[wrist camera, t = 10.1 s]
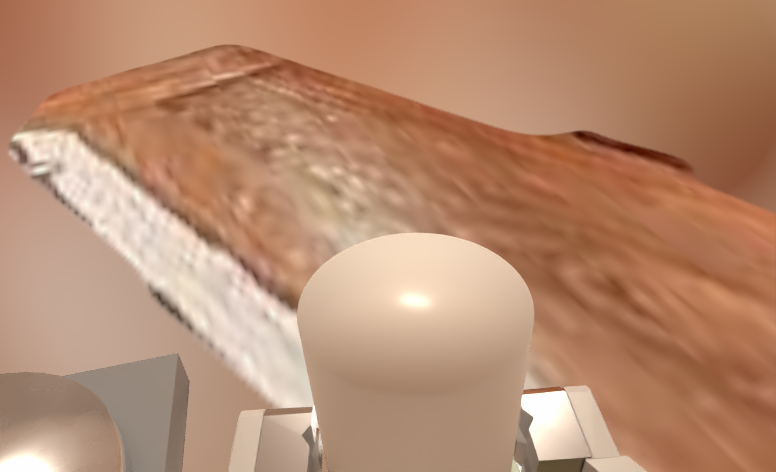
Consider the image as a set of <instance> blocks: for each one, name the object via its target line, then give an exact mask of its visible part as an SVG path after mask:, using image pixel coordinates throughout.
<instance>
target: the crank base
mask: <svg viewBox="0 0 776 472" xmlns="http://www.w3.org/2000/svg"><path fill="white" fill-rule="evenodd" d="M61 377H64V378H67V379H70V380H73V381H75V382H77V383H79V384H81V385H83V386H85V387H86V388H88V389H89V390H90V391H92V392H93V393H94V394H95V395H96V396H98V398H99V399H100V400H101V401H102V403H103V404H104V405H105V407H106V408H107V409H108V411H109V413H110V415H111V416H112V418H113V420H114V422H115V424H116V425H117V427H118V429H119V431H120V432H121V435H122V437H123V439H124V441H125V443H126V445H127V449H128V453H129V457H130V461H131V472H182V464H183V452H184V441H185V429H186V428H185V427H186V416H187V405H188V404H187V403H188V393H189V379H188V377H187V374H186V372H185V369H184V367H183V364H182V362H181V359H180V357H179V354H178V353H177V354H172V355H167V356H162V357H157V358H152V359H147V360H142V361H137V362H132V363H127V364H122V365H117V366H111V367H107V368H102V369H96V370H92V371H86V372H81V373H76V374H72V375H66V376H61Z"/></svg>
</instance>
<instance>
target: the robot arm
mask: <svg viewBox="0 0 776 472" xmlns="http://www.w3.org/2000/svg"><path fill="white" fill-rule="evenodd" d="M316 422H317V415H316V411H315V407H300V408H282V409H263V410H250V411H242V412H241V413H240V416H239V418H238V421H237V426H236V431H235V435H234V440H233V445H232V450H231V455H230V460H229V465H228V470H227V472H322V443H321V435H320V430H319V429H318V428H317V427H316ZM514 459H515V461H516V462H518V463H519V464H520V465H521V466H522V471H521V472H647V471H646V470H645V469H643V468H642V467H641V466H640V465H639V464H637V463H636V462H635V461H634V460H632V459H631V458H630V457H629V456H620V454H619V452H618V450H617V447H616V445H615V443H614V441H613V438H612V436H611V434H610V432H609V430H608V427H607V425H606V423H605V421H604V418H603V416H602V414H601V412H600V410H599V407H598V405H597V403H596V401H595V398H594V396H593V394H592V392H591V390H590V389H589V388H588V387H587V386H585V385H581V386H571V387H551V388H540V389H529V390H523V396H522V403H521V409H520V416H519V422H518V429H517V435H516V442H515V449H514Z"/></svg>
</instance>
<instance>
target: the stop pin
mask: <svg viewBox="0 0 776 472" xmlns="http://www.w3.org/2000/svg"><path fill="white" fill-rule="evenodd" d="M297 321H298V328H299V333H300V337H301V342H302V347H303V352H304V357H305V362H306V367H307V371H308V376H309V381H310V386H311V391H312V396H313V401H314V405H315V410H316V415H317V420H318V425H319V430H320V435H321V439H322V444H323V449H324V454H325V459H326V464H327V468H328V472H511V468H512V462H513V455H514V449H515V442H516V435H517V429H518V422H519V416H520V409H521V403H522V396H523V390H524V383H525V376H526V370H527V363H528V357H529V350H530V344H531V337H532V331H533V324H534V306H533V300H532V297H531V294H530V291H529V289H528V287H527V285H526V284H525V282H524V280H523V279H522V277H521V276H520V275H519V273H518V272H517V271H516V270H515V269H514V268H513V267H512V266H511V265H510V264H509V263H508V262H506V261H505V260H504V259H502V258H501V257H500V256H498V255H497V254H495V253H493V252H492V251H490V250H488V249H486V248H484V247H482V246H480V245H478V244H475V243H472V242H470V241H467V240H464V239H460V238H456V237H452V236H446V235H441V234H431V233H402V234H394V235H387V236H382V237H378V238H374V239H371V240H367V241H364V242H361V243H359V244H356V245H354V246H351V247H349V248H347V249H345V250H344V251H342V252H340V253H338V254H337V255H335V256H334V257H332V258H331V259H329V260H328V261H327V262H326V263H324V264H323V265H322V266H321V267H320V268H319V269H318V270H317V271H316V272H315V273H314V274H313V276H312V277H311V278H310V280H309V281H308V282H307V284H306V286H305V288H304V290H303V292H302V294H301V297H300V300H299V304H298V311H297Z"/></svg>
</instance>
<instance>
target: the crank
mask: <svg viewBox="0 0 776 472" xmlns="http://www.w3.org/2000/svg"><path fill="white" fill-rule="evenodd" d="M0 472H131V461H130V457H129V453H128V449H127V445H126V443H125V441H124V439H123V437H122V435H121V432H120V431H119V429H118V427H117V425H116V424H115V422H114V420H113V418H112V416H111V415H110V413H109V411H108V409H107V408H106V407H105V405H104V404H103V403H102V401H101V400H100V399H99V398H98V396H96V395H95V394H94V393H93V392H92V391H90V390H89V389H88V388H86V387H85V386H83V385H81V384H79V383H77V382H75V381H73V380H70V379H67V378H64V377H61V376H56V375H51V374H45V373H31V372H29V373H28V372H23V373H6V374H0Z"/></svg>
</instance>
